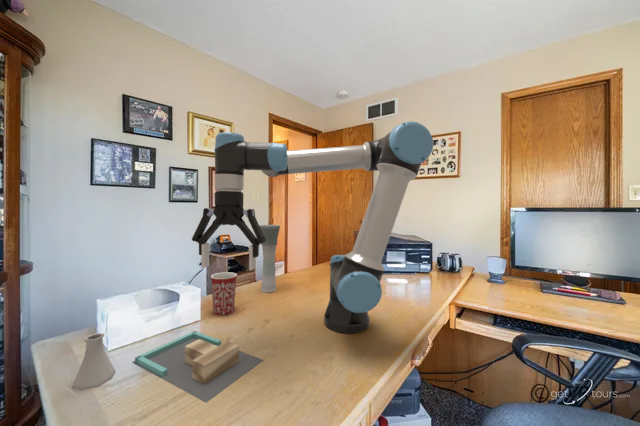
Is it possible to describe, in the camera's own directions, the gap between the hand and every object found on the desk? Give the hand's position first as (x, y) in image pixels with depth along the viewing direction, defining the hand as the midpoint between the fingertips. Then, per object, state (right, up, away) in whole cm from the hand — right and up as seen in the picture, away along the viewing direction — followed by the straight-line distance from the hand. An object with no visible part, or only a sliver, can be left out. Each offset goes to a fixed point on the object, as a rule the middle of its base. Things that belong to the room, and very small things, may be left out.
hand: (228, 268), depth 75 cm
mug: (-11, -21, +26) cm, 35 cm away
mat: (-5, -22, -8) cm, 24 cm away
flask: (-24, -22, -15) cm, 36 cm away
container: (+2, -21, +50) cm, 54 cm away
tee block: (-2, -22, -9) cm, 23 cm away
